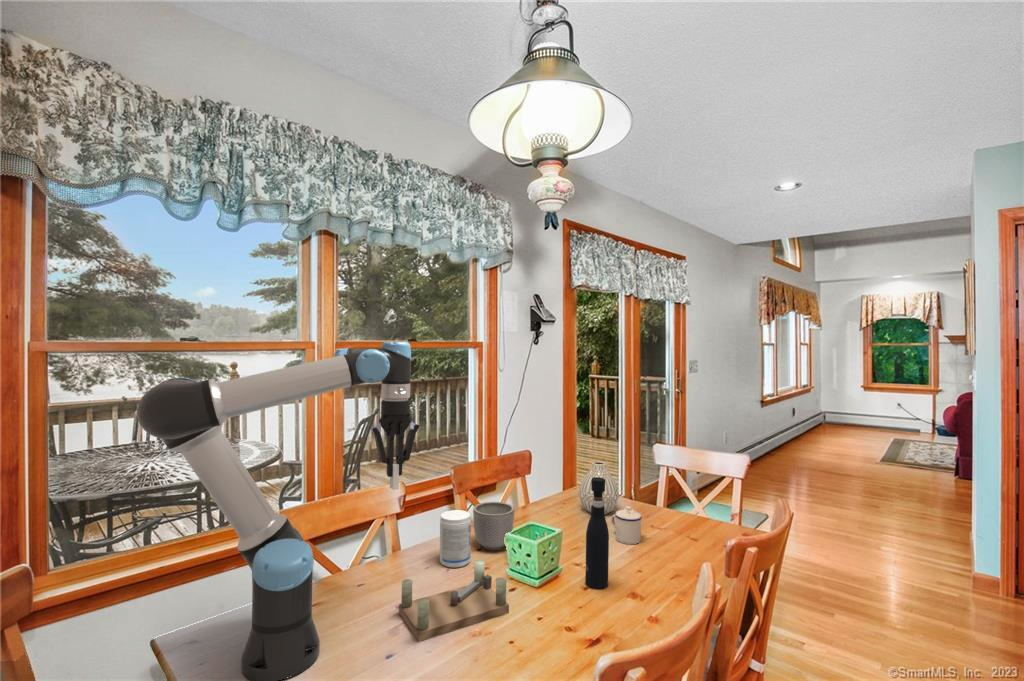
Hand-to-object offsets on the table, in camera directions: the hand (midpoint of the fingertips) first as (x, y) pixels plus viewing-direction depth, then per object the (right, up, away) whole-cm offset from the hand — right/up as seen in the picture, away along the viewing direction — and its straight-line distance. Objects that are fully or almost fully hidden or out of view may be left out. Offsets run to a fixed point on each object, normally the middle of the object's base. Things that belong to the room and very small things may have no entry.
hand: (394, 488), depth 129 cm
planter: (+25, -30, +34) cm, 52 cm away
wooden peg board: (+17, -30, -6) cm, 35 cm away
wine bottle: (+56, -31, +10) cm, 64 cm away
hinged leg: (+20, -27, 0) cm, 34 cm away
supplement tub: (+13, -30, +23) cm, 40 cm away
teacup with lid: (+71, -31, +43) cm, 89 cm away
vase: (+67, -31, +71) cm, 103 cm away
